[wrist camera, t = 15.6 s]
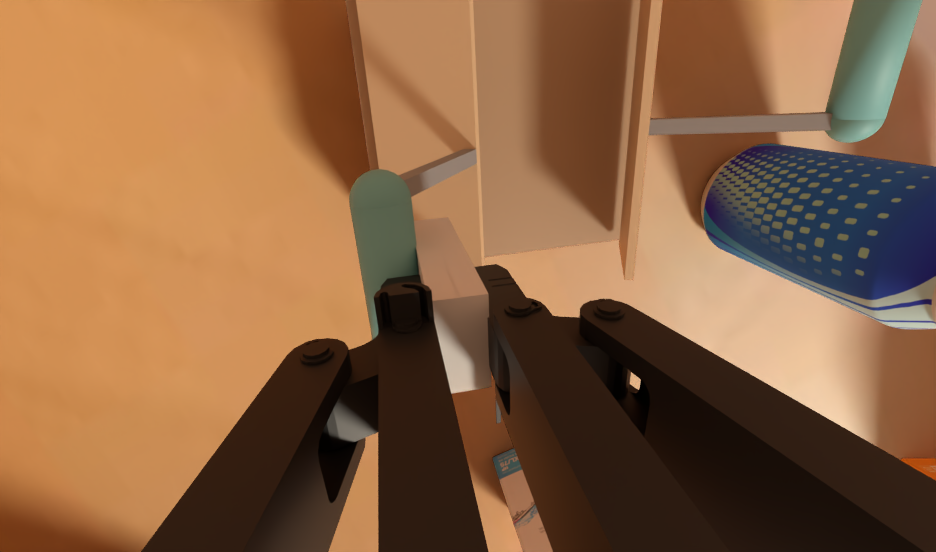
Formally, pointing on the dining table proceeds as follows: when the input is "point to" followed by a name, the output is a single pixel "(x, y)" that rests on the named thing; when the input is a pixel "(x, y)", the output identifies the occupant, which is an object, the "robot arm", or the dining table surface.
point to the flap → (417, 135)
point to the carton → (545, 118)
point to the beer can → (833, 226)
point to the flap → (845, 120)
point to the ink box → (521, 503)
